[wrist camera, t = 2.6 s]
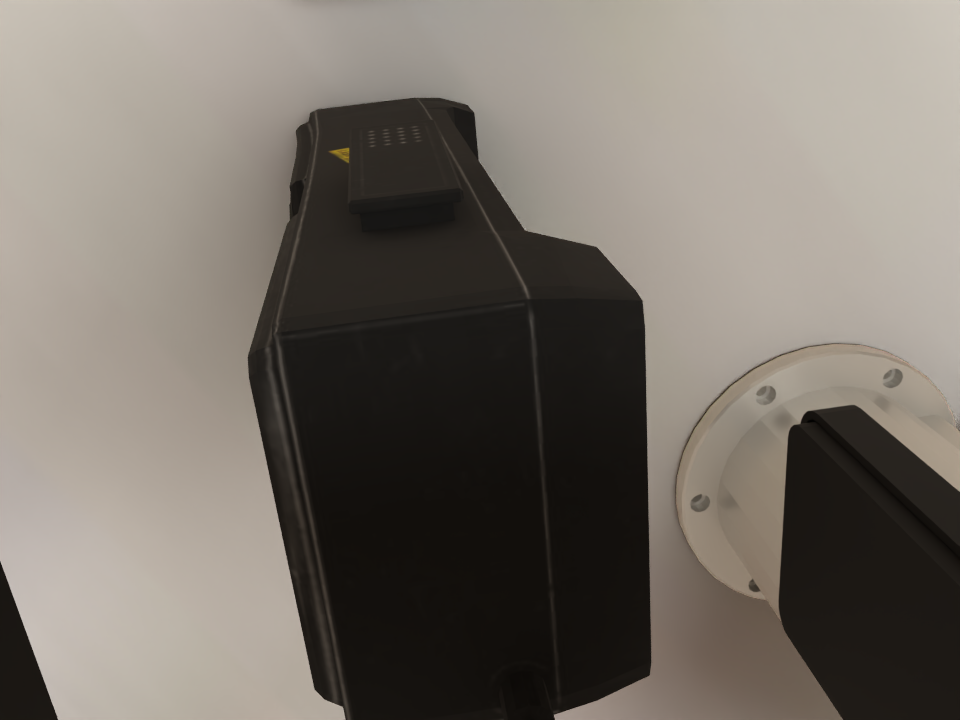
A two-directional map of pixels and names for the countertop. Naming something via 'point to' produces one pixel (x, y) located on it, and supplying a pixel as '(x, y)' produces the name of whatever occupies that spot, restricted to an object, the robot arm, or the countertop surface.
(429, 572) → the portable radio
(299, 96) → the countertop surface
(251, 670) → the countertop surface
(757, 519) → the robot arm
